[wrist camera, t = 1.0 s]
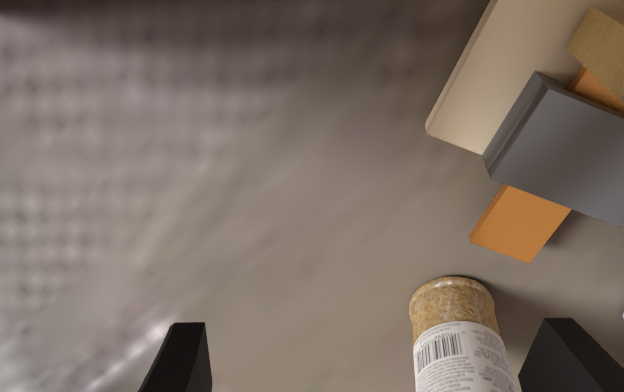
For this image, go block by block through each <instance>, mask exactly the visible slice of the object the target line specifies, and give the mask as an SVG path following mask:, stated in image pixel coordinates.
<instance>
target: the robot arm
mask: <svg viewBox="0 0 624 392" xmlns="http://www.w3.org/2000/svg"><path fill="white" fill-rule="evenodd" d="M623 319H624V313H623ZM518 378H519V382H520V385H521V389H522V392H624V369H623V368H622V367H621V366H620V365H619V364H618V363H617V362H616V361H615V360H614V359H613V358H612V357H611V356H610V355H609V354H608V353H607V352H606V351H605V350H604V349H603V348H602V347H601V346H600V345H599V344H598V343H597V342H596V341H595V340H594V339H593V338H592V337H591V336H590V335H589V334H588V333H587V332H586V331H585V330H584V329H583V328H582V327H581V326H580V325H579V324H578V323H576V322H575V321H574V320H573V319H572V318H544V320H543V322H542V324H541V326H540V328H539V331H538V333H537V335H536V337H535V339H534V342H533V344H532V346H531V348H530V351H529V353H528V355H527V357H526V359H525V362H524V364H523V366H522V368H521V370H520V373H519V375H518ZM138 392H212V375H211V368H210V360H209V352H208V344H207V336H206V328H205V322H193V323H174V324H173V325H171V326H170V328H169V330H168V332H167V335H166V337H165V339H164V342H163V344H162V346H161V348H160V350H159V352H158V354H157V356H156V358H155V360H154V362H153V364H152V366H151V368H150V370H149V372H148V374H147V376H146V377H145V379H144V381H143V383H142V385H141V387H140V389H139V390H138Z"/></svg>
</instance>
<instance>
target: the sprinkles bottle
mask: <svg viewBox="0 0 624 392" xmlns="http://www.w3.org/2000/svg"><path fill="white" fill-rule="evenodd" d="M494 310H495V305H494V300H493V299H492V297H491V294H490V293H489V292H488V290H487V289H486V288H485V287H484V286H483V285H481V284H479V283H478V282H477V281H475V280H472V279H468V278H462V277H449V276H448V277H441V278H437V279H435V280H432V281H430V282H428V283H426V284H424V285H423V286H421V287H420V288H419V289H418V290H417V291H416V292H415V293H414V295H413V297H412V298H411V301H410V304H409V315H410V319H411V322H412V325H413V338H414V348H413V354H414V368H415V381H416V392H517V391H516V387H515V383H514V380H513V376H512V372H511V368H510V364H509V360H508V357H507V353H506V349H505V346H504V343H503V341H502V340H501V336H500V332H499V328H498V325H497V321H496V317H495V314H494Z"/></svg>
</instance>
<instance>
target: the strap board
mask: <svg viewBox="0 0 624 392" xmlns="http://www.w3.org/2000/svg"><path fill="white" fill-rule="evenodd" d="M591 6H593V7H596V8H598V9H600V10H603V11H605V12H607V13H610V14H612V15H614V16H617V17H619V18H622V19H624V0H490V2H489V3H488V5H487V7H486V9H485V11H484V13H483V15H482V17H481V19H480V20H479V22H478V24H477V26H476V28H475V30H474V32H473V34H472V36H471V37H470V39H469V41H468V43H467V45H466V47H465V49H464V51H463V53H462V54H461V56H460V58H459V60H458V62H457V64H456V66H455V68H454V70H453V71H452V73H451V75H450V77H449V79H448V81H447V83H446V85H445V87H444V88H443V90H442V92H441V94H440V96H439V98H438V100H437V102H436V104H435V105H434V107H433V109H432V111H431V113H430V115H429V117H428V119H427V121H426V122H425V129H426V134H428V135H431V136H433V137H436V138H438V139H441V140H444V141H446V142H449V143H451V144H454V145H457V146H459V147H462V148H465V149H467V150H470V151H472V152H475V153H478V154H480V155H482V157H483V159H484V162H485V165H486V168H487V170H488V173H489V176H490V179H493V180H496V181H498V182H501V183H503V184H506V185H509V186H511V187H514V188H517V189H519V190H522V191H525V192H527V193H530V194H533V195H535V196H538V197H540V198H543V199H546V200H548V201H551V202H554V203H556V204H559V205H562V206H564V207H567V208H570V209H572V210H575V211H578V212H580V213H583V214H585V215H588V216H591V217H593V218H596V219H599V220H601V221H604V222H607V223H609V224H612V225H615V226H617V227H620V226H621V225H622V224H623V223H624V114H623V113H621V112H618V111H616V110H613V109H611V108H608V107H606V106H603V105H601V104H598V103H596V102H593V101H591V100H588V99H586V98H583V97H581V96H579V95H576V94H574V93H571V92H569V91H567V89H568V87H569V86H570V84H571V83H572V81H573V80H574V78H575V77H576V75H577V74H578V72H579V71H580V69H581V68H582V66H583V65H582V64H581V63H580V62H579V61H578V60H577V59H576V58H575V57H574V56H573V55H572V54H571V53H570V52H569V51H567V50H566V49H565V46H566V45H567V43H568V42H569V40H570V38H571V37H572V35H573V34H574V32H575V31H576V29H577V28H578V26H579V24H580V23H581V21H582V20H583V18H584V17H585V15H586V13H587V12H588V10H589V9H590V7H591Z"/></svg>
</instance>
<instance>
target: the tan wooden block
mask: <svg viewBox="0 0 624 392" xmlns="http://www.w3.org/2000/svg"><path fill="white" fill-rule="evenodd" d="M565 49H566V50H567V51H569V52H570V53H571V54H572V55H573V56H574V57H575V58H576V59H577V60H578V61H579V62H580V63H581V64H582V65H583V66H582V68H581V69H580V71H579V72H578V74H577V75H576V77H575V78H574V80H573V81H572V83H571V84H570V86H569V87H568V89H567V91H569V92H571V93H574V94H576V95H579V96H581V97H583V98H586V99H588V100H591V101H593V102H596V103H598V104H601V105H603V106H606V107H608V108H611V109H613V110H616V111H618V112H621V113H623V114H624V19H622V18H619V17H617V16H614V15H612V14H610V13H607V12H605V11H603V10H600V9H598V8H596V7H593V6H591V7H590V9H589V10H588V12H587V13H586V15H585V17H584V18H583V20H582V21H581V23H580V24H579V26H578V28H577V29H576V31H575V32H574V34H573V35H572V37H571V38H570V40H569V42H568V43H567V45H566V46H565ZM571 210H572V209H570V208H567V207H564V206H562V205H559V204H556V203H554V202H551V201H548V200H546V199H543V198H540V197H538V196H535V195H533V194H530V193H527V192H525V191H522V190H519V189H517V188H514V187H511V186H509V185H506V184H503V185H502V187H501V188H500V190H499V191H498V193H497V194H496V196H495V197H494V199H493V200H492V202H491V203H490V205H489V206H488V208H487V209H486V210H485V212H484V213H483V215H482V216H481V218H480V219H479V221H478V222H477V224H476V225H475V227H474V228H473V230H472V231H471V233H470V234H469V239H470V242H472V243H474V244H477V245H480V246H483V247H485V248H488V249H491V250H494V251H496V252H499V253H502V254H505V255H507V256H510V257H513V258H516V259H518V260H521V261H524V262H527V263H530V262H531V260H532V259H533V258H534V257H535V255H536V254H537V253H538V252H539V250H540V249H541V248H542V246H543V245H544V244H545V243H546V241H547V240H548V239H549V238H550V236H551V235H552V234H553V233H554V231H555V230H556V229H557V227H558V226H559V225H560V224H561V222H562V221H563V220H564V219H565V217H566V216H567V215H568V213H569V212H570V211H571Z"/></svg>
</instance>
